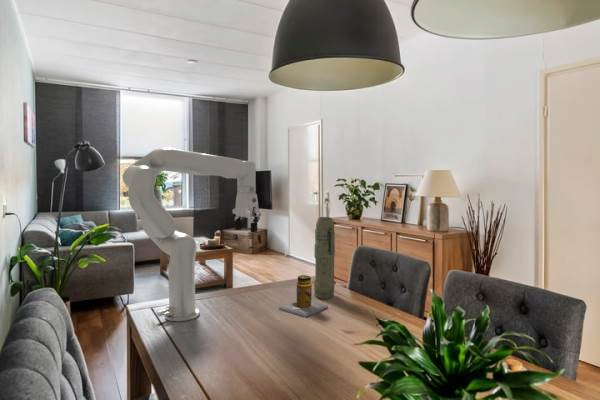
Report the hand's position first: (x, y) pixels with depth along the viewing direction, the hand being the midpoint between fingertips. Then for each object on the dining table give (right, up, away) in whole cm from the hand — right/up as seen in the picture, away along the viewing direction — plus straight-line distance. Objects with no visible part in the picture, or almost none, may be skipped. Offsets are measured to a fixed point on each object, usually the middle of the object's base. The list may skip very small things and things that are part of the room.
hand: (246, 230), depth 162 cm
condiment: (+23, -30, -8) cm, 39 cm away
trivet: (+24, -31, -8) cm, 40 cm away
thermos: (+33, -30, +8) cm, 45 cm away
